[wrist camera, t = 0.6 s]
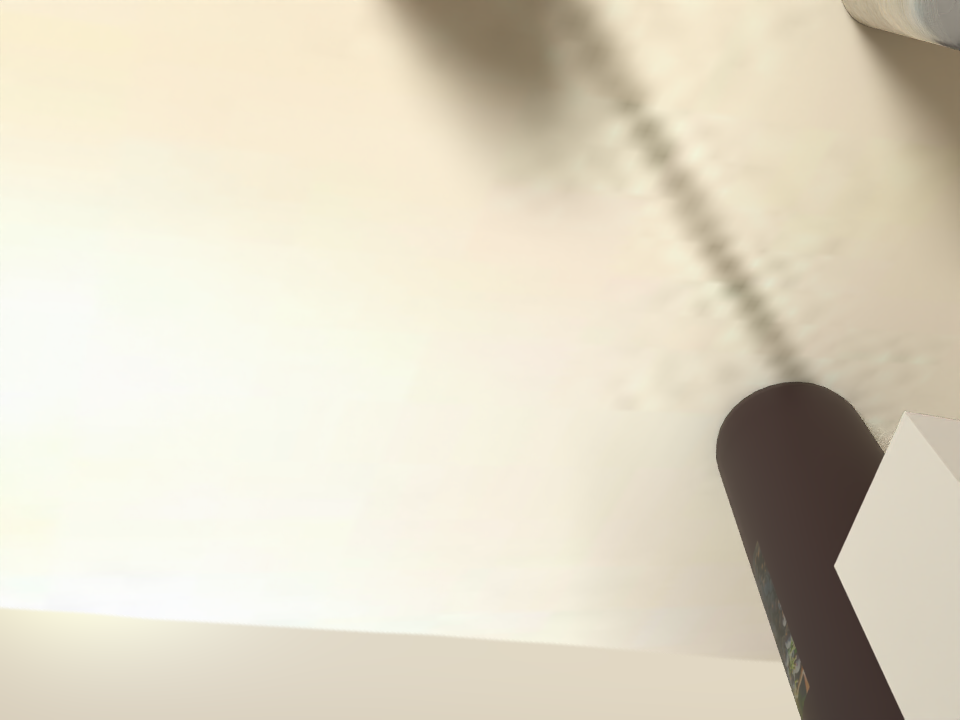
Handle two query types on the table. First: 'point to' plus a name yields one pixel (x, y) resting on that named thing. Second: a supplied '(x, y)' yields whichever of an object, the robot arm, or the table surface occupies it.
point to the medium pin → (911, 18)
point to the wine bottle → (806, 538)
